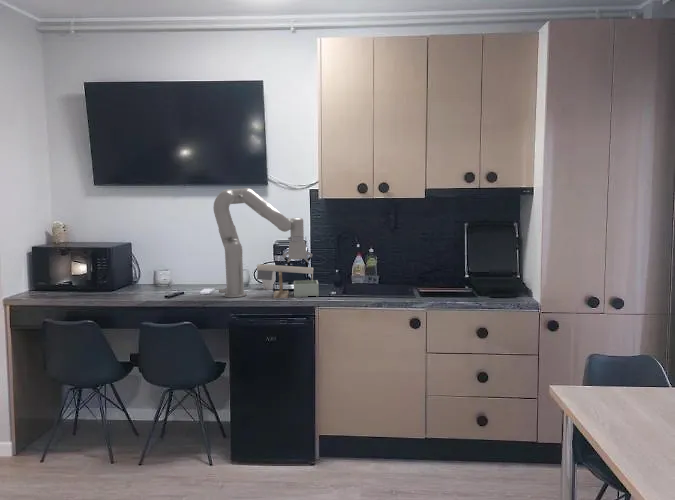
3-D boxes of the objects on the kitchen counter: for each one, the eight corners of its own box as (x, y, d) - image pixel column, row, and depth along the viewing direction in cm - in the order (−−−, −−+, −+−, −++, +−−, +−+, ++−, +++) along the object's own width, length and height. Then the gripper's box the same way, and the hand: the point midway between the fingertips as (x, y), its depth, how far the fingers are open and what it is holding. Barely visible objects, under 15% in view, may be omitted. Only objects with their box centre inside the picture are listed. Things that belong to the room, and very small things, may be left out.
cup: (294, 297, 333) (293, 284, 333) (294, 293, 347) (293, 280, 346) (318, 296, 334) (318, 283, 334) (317, 292, 348) (317, 280, 347)
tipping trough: (256, 279, 334) (257, 265, 334) (257, 274, 351) (258, 261, 350) (312, 282, 337) (313, 269, 336) (311, 278, 353) (312, 265, 353)
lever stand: (273, 298, 332) (272, 272, 331) (274, 293, 346) (273, 268, 345) (288, 297, 333) (287, 271, 331) (288, 293, 347) (287, 268, 345)
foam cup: (257, 289, 362) (256, 267, 361) (266, 287, 370) (265, 265, 369) (271, 290, 358) (270, 268, 356) (279, 287, 366) (278, 266, 364)
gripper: (281, 240, 343) (282, 270, 344) (312, 239, 344) (313, 269, 346) (282, 239, 350) (283, 268, 352) (312, 238, 351) (312, 267, 353)
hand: (297, 268), depth 349 cm, fingers open, 9 cm apart
